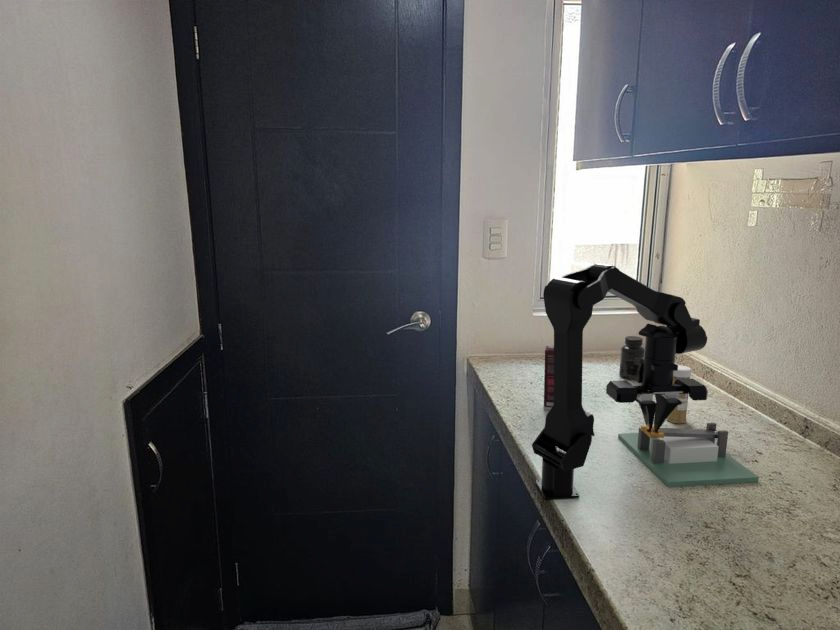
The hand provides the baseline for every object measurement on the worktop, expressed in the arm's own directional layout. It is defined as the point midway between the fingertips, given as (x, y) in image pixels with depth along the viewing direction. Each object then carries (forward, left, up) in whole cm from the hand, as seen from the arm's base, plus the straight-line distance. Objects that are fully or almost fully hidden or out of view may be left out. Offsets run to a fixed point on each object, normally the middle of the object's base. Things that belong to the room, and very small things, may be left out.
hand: (652, 430), depth 117 cm
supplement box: (+30, +9, -7) cm, 32 cm away
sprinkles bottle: (+19, -16, -7) cm, 26 cm away
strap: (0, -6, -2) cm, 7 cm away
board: (0, -7, -7) cm, 10 cm away
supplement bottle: (+52, -20, -7) cm, 56 cm away
